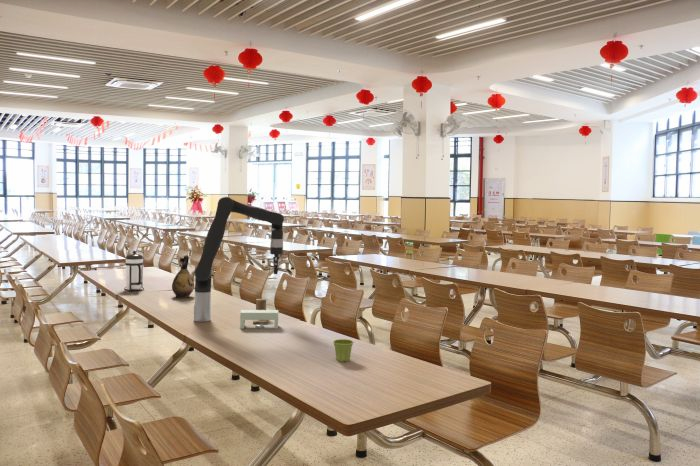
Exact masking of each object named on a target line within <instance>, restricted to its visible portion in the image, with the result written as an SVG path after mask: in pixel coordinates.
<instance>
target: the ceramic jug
mask: <svg viewBox="0 0 700 466" xmlns="http://www.w3.org/2000/svg"><path fill="white" fill-rule="evenodd" d="M189 259H190V256H189V255H187V254H186V255H184V256H183V257H181V258H180V259H179V263H180V264H181V268H180V269H179V271H178V272H177V273H176V275H175V277H174V278H173V281H172V284H171V289H172V292H173V294H174V295H175V298H178V299H187V297H188V298H189V297H190V295H191V294H192V293H193V292H194V291H195V280H194V278H193V276H192V275H191V273H190V271H189V269H188V265H189Z"/></svg>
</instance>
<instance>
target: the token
mask: <svg viewBox="0 0 700 466" xmlns="http://www.w3.org/2000/svg"><path fill="white" fill-rule="evenodd" d="M264 325H265V324H254V327H255V328H257V329H259V328H260V329H261V328H262V329H263V328H264V327H265V326H264Z"/></svg>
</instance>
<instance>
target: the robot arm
mask: <svg viewBox="0 0 700 466" xmlns="http://www.w3.org/2000/svg"><path fill="white" fill-rule="evenodd" d="M231 213H236V214H240V215H243V216H246V217H249V218H252V219H255V220H258V221H262V222H267V223H270V224H271V236H270V247H269V248H270V250H269V254H270V255H274V256H272V264H273V274H274V275H278V272H279V264H280V259H281V258H280V256H281V255H283V254H284V230H283V228H284V227H283V226H284V224H283V223H284V221H285V218H284V215H283V214H281V213H280V212H275V211H271V210H268V209H266V208H261V207H259V206H253V205H251V204H250V205H249V204H247V203H246V204H245V203H243V202H239V201H237V200H235V199H232V198H231V197H230V196H222V197H221V198H219V200H218V201H217V207H216V212H215V215H214V218H213V220H212V222H211V224H210V226H209V229H208V231H207V234H206V237H205V240H204V243H203V248H202V253H201V256H200V259H199V261H198V264H197V266H196V268H195V270H194V276H195V280H194V304H193V322H198V323H199V322H200V323H201V322H205V323H206V322H210V321H211V320H212V319H211V316H212V315H211V313H212V312H211V311H212V310H211V309H212V307H211V306H212V305H211V304H212V300H211V299H212V268H213V264H214V261H215V259H216V256H217V254H218V252H219V249H220V248H221V245H222V242H223V240H224V236H225V232H226V227H227V222H228V219H229V216H230V215H231Z"/></svg>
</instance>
